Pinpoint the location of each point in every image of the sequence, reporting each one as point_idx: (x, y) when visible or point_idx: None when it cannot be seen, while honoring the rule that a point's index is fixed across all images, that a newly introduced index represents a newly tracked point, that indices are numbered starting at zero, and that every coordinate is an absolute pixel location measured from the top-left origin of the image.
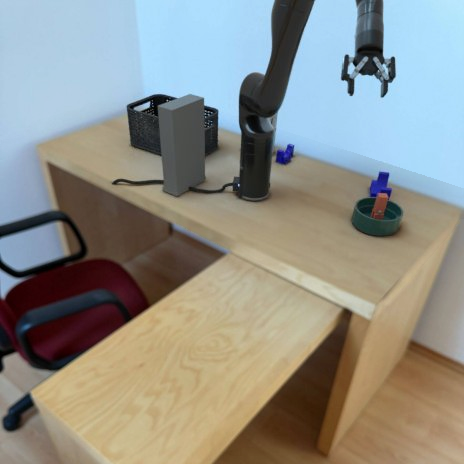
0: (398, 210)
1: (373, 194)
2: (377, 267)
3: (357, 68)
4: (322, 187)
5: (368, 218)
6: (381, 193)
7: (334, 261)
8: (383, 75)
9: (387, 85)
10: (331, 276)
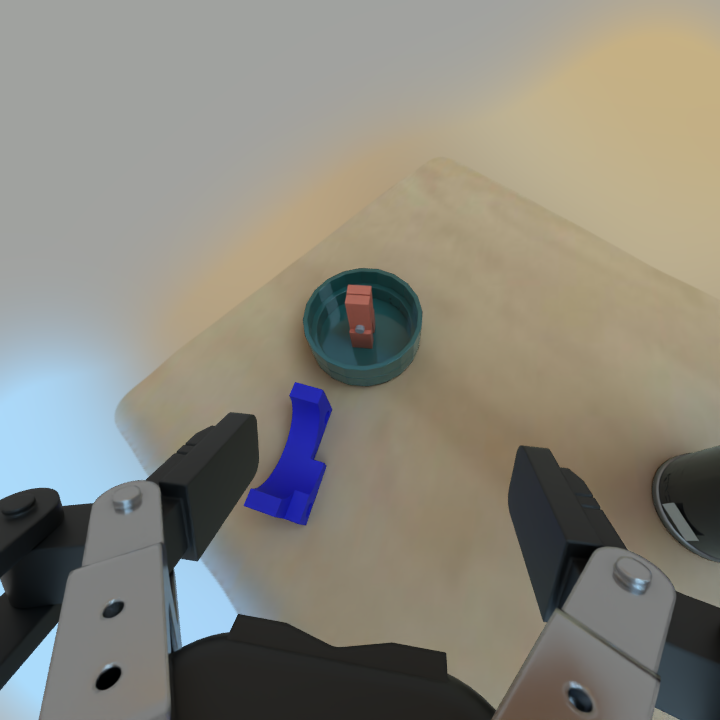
0: (309, 325)
1: (318, 461)
2: (408, 215)
3: (606, 665)
4: (462, 544)
5: (402, 280)
6: (359, 302)
7: (483, 228)
8: (151, 525)
9: (168, 466)
10: (495, 196)
